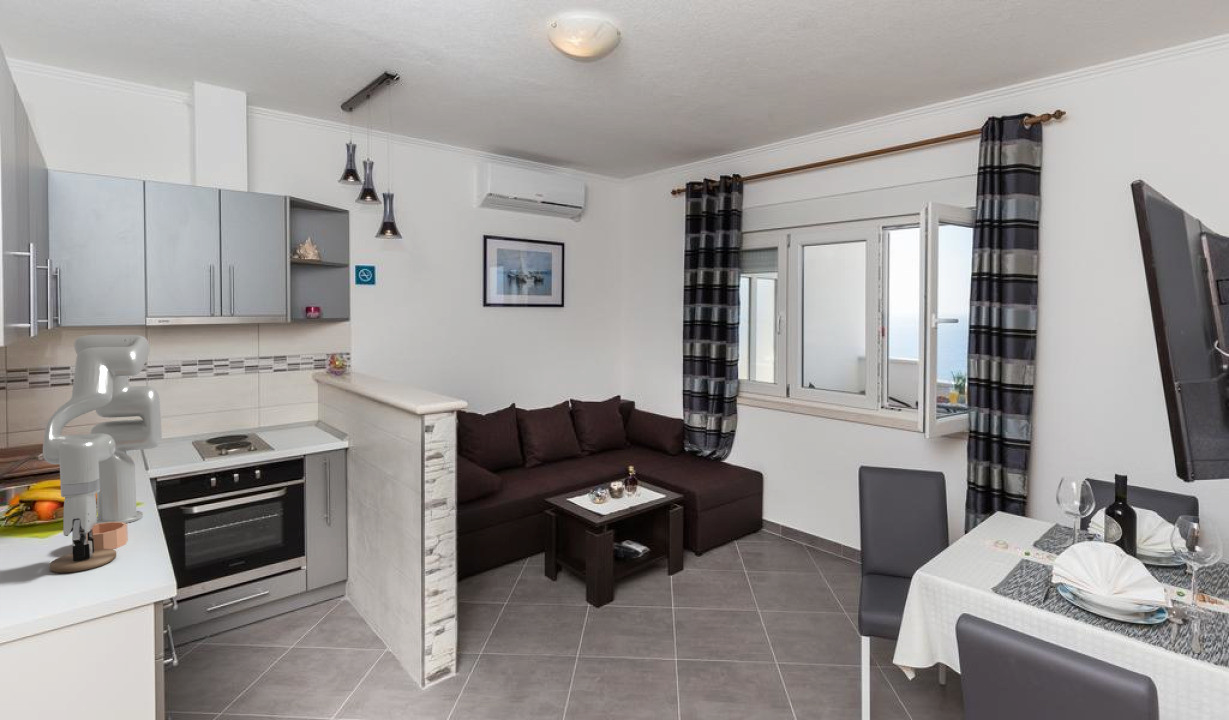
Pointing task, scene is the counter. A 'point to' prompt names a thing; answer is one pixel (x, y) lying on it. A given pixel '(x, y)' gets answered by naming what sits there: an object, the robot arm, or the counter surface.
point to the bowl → (110, 535)
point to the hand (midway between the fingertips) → (83, 556)
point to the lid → (94, 561)
